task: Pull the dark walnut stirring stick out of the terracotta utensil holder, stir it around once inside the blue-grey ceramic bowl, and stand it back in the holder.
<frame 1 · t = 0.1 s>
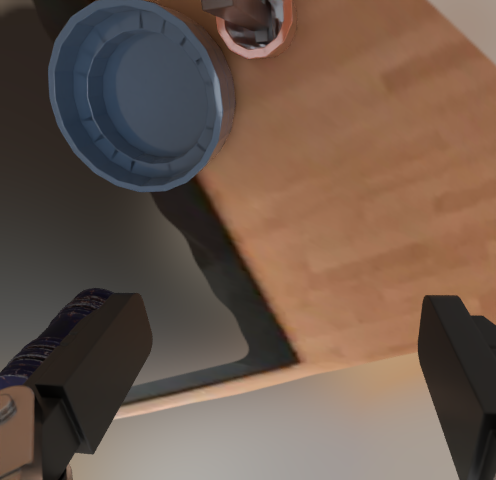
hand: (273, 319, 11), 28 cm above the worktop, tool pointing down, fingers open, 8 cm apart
stirring stick: (266, 24, 31), point 1 cm above the worktop, touching utensil holder
storage jar: (106, 316, 50), on the worktop
utensil holder: (267, 24, 32), on the worktop
bowl: (160, 98, 36), on the worktop
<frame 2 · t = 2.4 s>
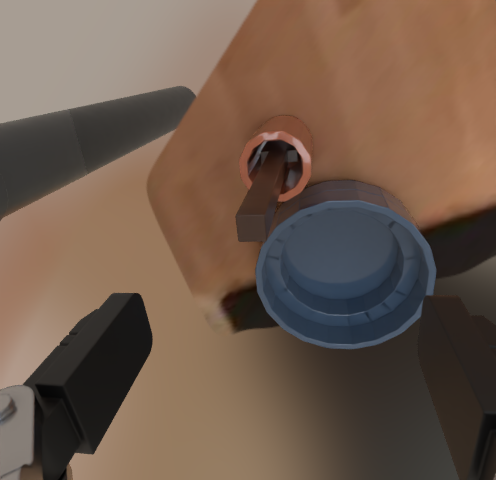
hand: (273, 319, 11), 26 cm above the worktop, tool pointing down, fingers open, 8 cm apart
stirring stick: (283, 146, 33), point 1 cm above the worktop, touching utensil holder
utensil holder: (283, 144, 34), on the worktop
bowl: (338, 250, 37), on the worktop
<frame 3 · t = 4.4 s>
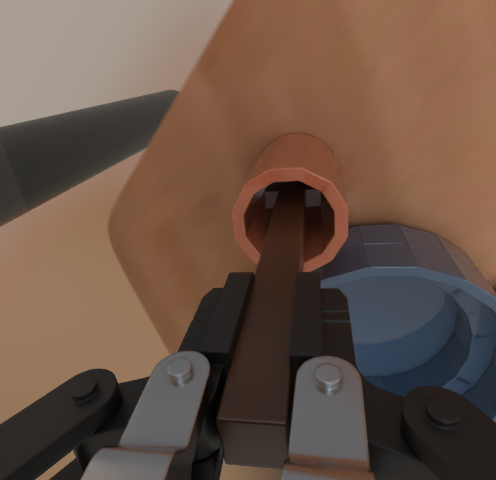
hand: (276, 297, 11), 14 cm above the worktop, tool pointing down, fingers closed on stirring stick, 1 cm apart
stirring stick: (296, 177, 23), point 1 cm above the worktop, touching gripper, utensil holder
utensil holder: (296, 174, 24), on the worktop
bowl: (371, 314, 27), on the worktop
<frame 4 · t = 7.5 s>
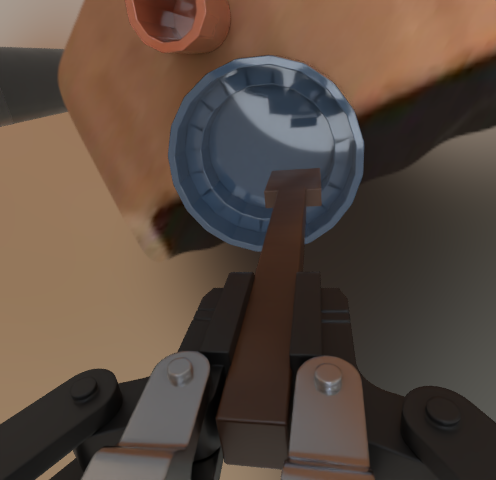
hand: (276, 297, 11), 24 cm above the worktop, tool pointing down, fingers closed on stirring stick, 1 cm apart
stirring stick: (296, 176, 23), point 11 cm above the worktop, touching gripper
utensil holder: (199, 17, 30), on the worktop
bowl: (270, 148, 34), on the worktop
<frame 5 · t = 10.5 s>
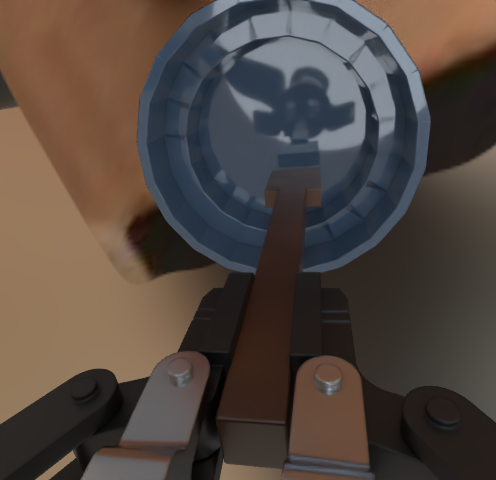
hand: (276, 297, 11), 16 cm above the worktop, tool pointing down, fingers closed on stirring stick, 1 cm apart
stirring stick: (296, 177, 23), point 3 cm above the worktop, touching gripper
bowl: (282, 134, 25), on the worktop
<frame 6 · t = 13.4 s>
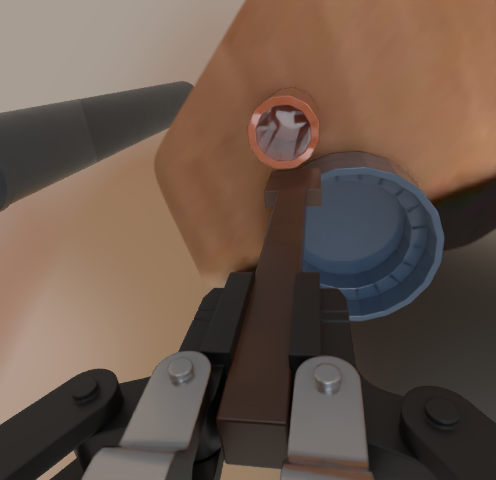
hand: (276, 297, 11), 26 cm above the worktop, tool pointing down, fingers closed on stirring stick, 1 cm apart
stirring stick: (296, 176, 23), point 13 cm above the worktop, touching gripper
utensil holder: (290, 118, 34), on the worktop
bowl: (345, 224, 38), on the worktop
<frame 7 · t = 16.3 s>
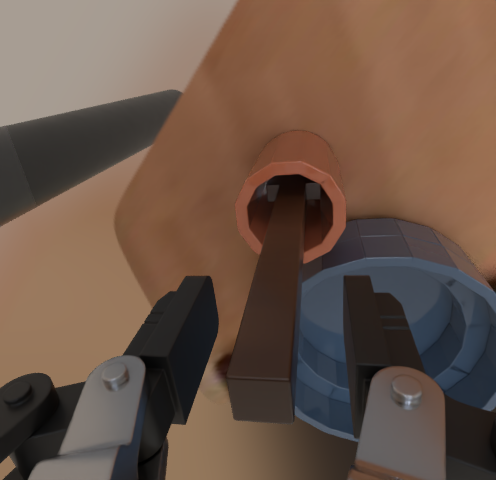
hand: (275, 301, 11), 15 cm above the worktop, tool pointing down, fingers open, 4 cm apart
stirring stick: (296, 172, 24), point 1 cm above the worktop, touching utensil holder
utensil holder: (296, 170, 24), on the worktop
bowl: (369, 306, 28), on the worktop
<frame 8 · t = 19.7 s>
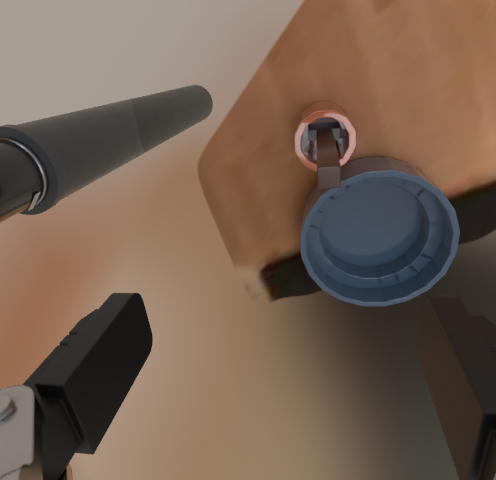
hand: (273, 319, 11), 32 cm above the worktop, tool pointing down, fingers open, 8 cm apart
stirring stick: (323, 127, 38), point 1 cm above the worktop, touching utensil holder
utensil holder: (322, 126, 38), on the worktop
bowl: (368, 221, 42), on the worktop
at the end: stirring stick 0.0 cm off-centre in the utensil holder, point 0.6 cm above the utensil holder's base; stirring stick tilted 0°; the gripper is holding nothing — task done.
